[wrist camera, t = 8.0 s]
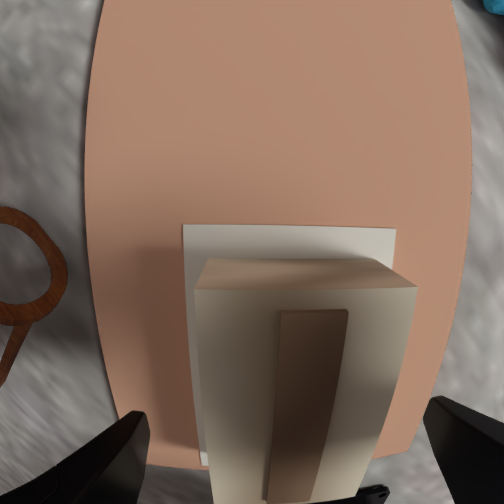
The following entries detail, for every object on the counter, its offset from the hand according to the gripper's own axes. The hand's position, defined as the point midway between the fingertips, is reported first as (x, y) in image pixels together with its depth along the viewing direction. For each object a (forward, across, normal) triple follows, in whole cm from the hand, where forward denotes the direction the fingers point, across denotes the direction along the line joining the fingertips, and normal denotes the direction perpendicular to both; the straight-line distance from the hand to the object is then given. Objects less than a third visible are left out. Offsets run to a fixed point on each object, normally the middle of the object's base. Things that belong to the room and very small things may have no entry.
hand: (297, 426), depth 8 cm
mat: (+4, 0, -5) cm, 6 cm away
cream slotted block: (+3, 0, 0) cm, 3 cm away
